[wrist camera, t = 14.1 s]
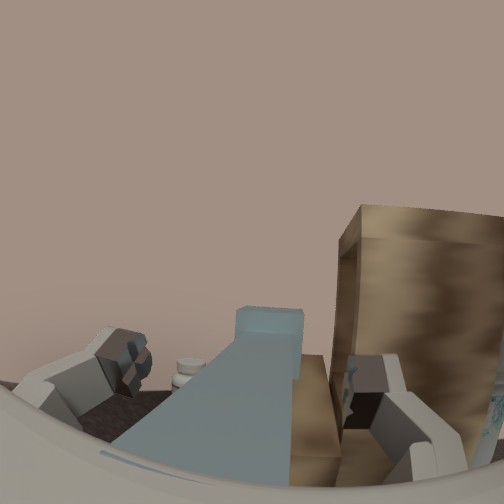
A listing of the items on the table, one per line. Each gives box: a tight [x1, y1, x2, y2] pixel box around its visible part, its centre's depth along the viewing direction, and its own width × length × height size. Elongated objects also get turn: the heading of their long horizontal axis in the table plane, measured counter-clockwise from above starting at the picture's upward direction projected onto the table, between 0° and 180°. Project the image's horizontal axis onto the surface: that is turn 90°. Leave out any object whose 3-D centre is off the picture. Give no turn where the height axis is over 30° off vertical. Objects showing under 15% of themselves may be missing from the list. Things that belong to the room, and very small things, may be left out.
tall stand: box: [329, 204, 504, 487], centre depth 22 cm, size 11×14×26 cm
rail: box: [99, 306, 304, 487], centre depth 15 cm, size 5×23×5 cm, turn 172°
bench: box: [289, 354, 342, 487], centre depth 19 cm, size 8×20×14 cm, turn 170°
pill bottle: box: [172, 358, 206, 394], centre depth 39 cm, size 5×5×10 cm
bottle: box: [468, 325, 504, 470], centre depth 21 cm, size 7×7×20 cm
